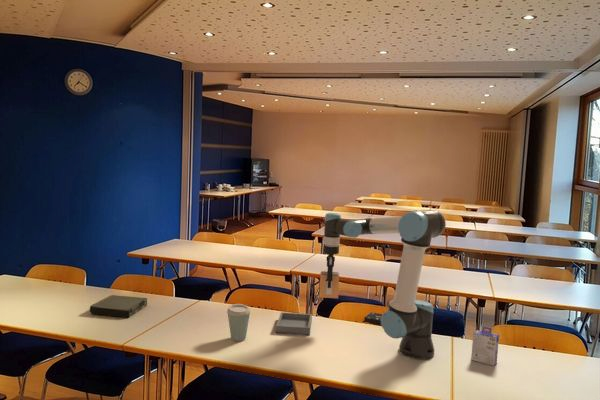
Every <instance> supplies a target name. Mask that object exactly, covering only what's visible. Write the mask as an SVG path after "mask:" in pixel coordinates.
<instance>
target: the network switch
mask: <svg viewBox="0 0 600 400" xmlns="http://www.w3.org/2000/svg"><path fill="white" fill-rule="evenodd" d="M147 305H148V298H147V297H137V296H129V295H128V296H127V295H117V294H112V295H108V296H106V297H104V298H102V299H100V300H99V301H97V302H95V303H93V304H91V305H90V306H89V312H90V314H92V315H95V316H105V317H114V318H122V319H129V318H130V317H132V316H133V315H135V314H136V313H138V312H139V311H140V310H142V309H143V308H144V307H147Z"/></svg>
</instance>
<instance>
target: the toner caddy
mask: <svg viewBox="0 0 600 400" xmlns="http://www.w3.org/2000/svg"><path fill="white" fill-rule="evenodd" d="M319 278H320V279H319V298H322V299H324V298H325V299H326V298H327V299H328V298H329V299H339V286H340V285H339V283H340V273H339V272H338V271H337V272H336V271H333V274H332V279H333V280H332V295H331V294H326V285H327V281H325V280H327V271H326V270H325V271H324V270H323V271H321V272H320V277H319Z"/></svg>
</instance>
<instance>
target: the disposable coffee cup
mask: <svg viewBox="0 0 600 400" xmlns="http://www.w3.org/2000/svg"><path fill="white" fill-rule="evenodd" d="M226 313H227V319H228V325H229V333H230V338H231V340H232V341H233V342H243V341H245V340H246V338H247V332H248V328H249V327H248V326H249V321H250V314H251V308H250V307H249V306H248V305H245V304H242V303H235V304H231V305H228V308H227V311H226Z"/></svg>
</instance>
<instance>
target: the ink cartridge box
mask: <svg viewBox="0 0 600 400" xmlns="http://www.w3.org/2000/svg"><path fill="white" fill-rule="evenodd" d="M481 329H482V330H477V329H476V330H475V331H474V332H473V334H472V344H471V354H470V355H471V356H470V360H471V361H474V362H478V363H482V364H486V365H489V366H495V365H496V364H497V362H498V353H499V339H500V334H499V333H498V334H497V333H492V330H493V328H492V327H487V326H482V328H481ZM488 330H489V331H488Z"/></svg>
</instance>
